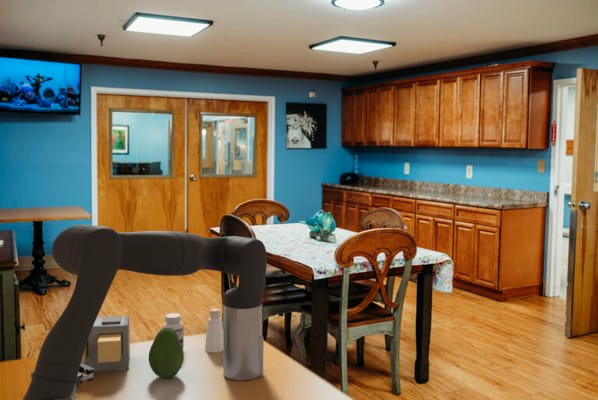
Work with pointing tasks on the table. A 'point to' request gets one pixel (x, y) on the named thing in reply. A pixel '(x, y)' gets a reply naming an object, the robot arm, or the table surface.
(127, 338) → the console
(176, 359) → the fruit
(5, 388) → the table surface
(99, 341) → the button
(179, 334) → the pill bottle
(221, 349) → the pepper shaker
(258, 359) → the robot arm
